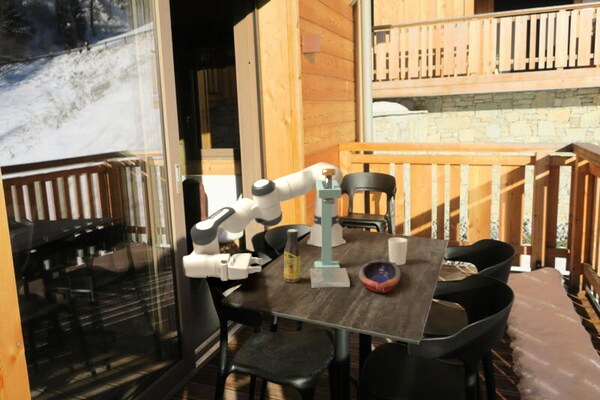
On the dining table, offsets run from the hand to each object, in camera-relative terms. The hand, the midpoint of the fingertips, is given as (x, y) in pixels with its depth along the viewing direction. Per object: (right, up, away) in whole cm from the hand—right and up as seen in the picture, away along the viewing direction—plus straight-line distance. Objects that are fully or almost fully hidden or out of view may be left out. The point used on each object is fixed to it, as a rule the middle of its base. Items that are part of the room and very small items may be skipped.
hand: (261, 264), depth 189 cm
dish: (+44, -7, -1) cm, 45 cm away
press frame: (+26, -5, +8) cm, 27 cm away
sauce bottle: (+12, -7, +2) cm, 13 cm away
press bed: (+26, -6, +2) cm, 26 cm away
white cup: (+55, -2, +22) cm, 60 cm away
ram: (+25, +23, -4) cm, 35 cm away
